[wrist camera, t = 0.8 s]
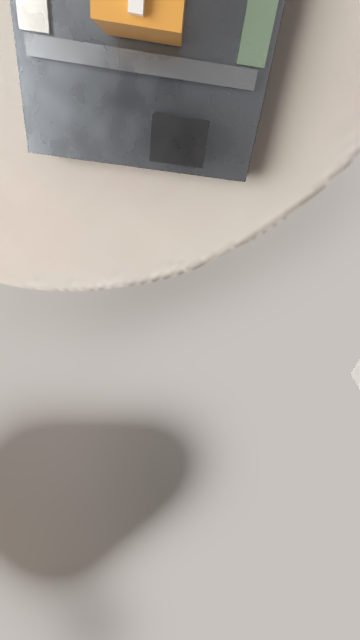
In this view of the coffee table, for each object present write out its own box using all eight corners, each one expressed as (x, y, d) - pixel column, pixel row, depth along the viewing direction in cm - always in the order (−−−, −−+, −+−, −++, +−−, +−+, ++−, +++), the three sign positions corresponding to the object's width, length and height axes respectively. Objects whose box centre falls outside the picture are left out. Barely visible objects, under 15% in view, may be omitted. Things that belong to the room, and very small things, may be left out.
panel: (-4, -270, 17) (-72, -407, 13) (320, -199, 18) (366, -300, 14) (39, 149, 28) (12, 157, 24) (240, 176, 29) (251, 189, 25)
